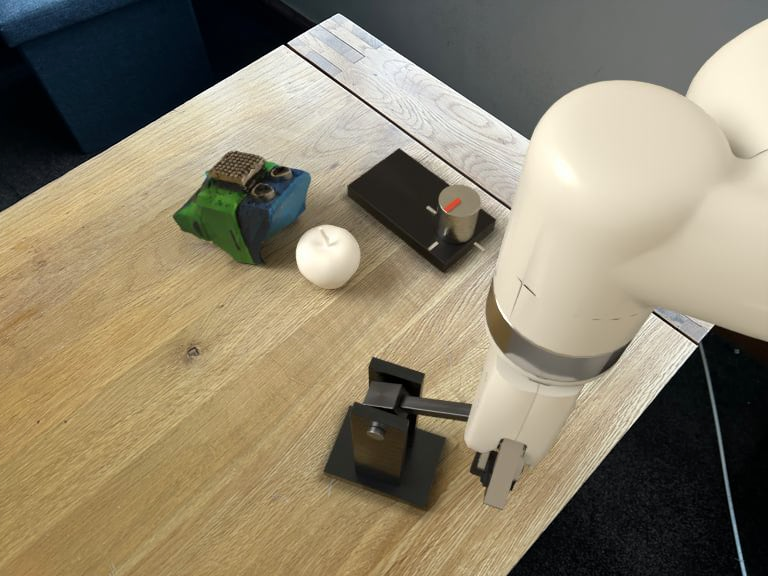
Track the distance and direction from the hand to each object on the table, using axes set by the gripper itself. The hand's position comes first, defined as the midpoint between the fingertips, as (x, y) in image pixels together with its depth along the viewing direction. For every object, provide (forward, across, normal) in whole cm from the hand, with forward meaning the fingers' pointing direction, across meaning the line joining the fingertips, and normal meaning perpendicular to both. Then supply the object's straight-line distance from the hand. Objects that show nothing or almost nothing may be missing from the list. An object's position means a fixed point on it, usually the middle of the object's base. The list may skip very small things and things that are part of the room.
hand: (503, 430), depth 49 cm
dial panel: (+16, -30, -15) cm, 37 cm away
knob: (+14, -28, -10) cm, 33 cm away
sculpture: (+16, -21, -34) cm, 43 cm away
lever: (+1, 0, -4) cm, 4 cm away
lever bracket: (+16, 0, -9) cm, 18 cm away
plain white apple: (+16, -18, -22) cm, 33 cm away
